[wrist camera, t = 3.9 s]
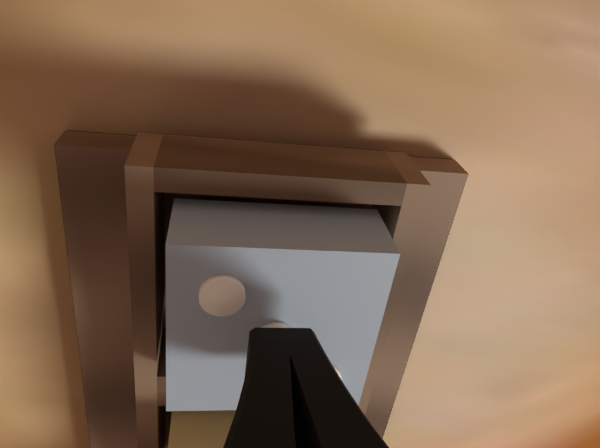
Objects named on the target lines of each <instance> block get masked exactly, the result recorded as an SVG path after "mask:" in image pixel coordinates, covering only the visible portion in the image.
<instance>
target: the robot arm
mask: <svg viewBox="0 0 600 448" xmlns="http://www.w3.org/2000/svg"><path fill="white" fill-rule="evenodd" d="M223 448H389V447H388V446H387V445H386V443H385V442H384V441H383V439H382V438H381V437H380V435H379V434H378V433H377V431H376V430H375V429H374V427H373V426H372V425H371V423H370V422H369V420H368V419H367V418H366V416H365V415H364V413H363V412H362V410H361V409H360V407H359V406H358V404H357V403H356V401H355V400H354V398H353V397H352V395H351V394H350V392H349V391H348V389H347V388H346V386H345V385H344V383H343V382H342V380H341V378H340V377H339V375H338V374H337V372H336V370H335V369H334V367H333V365H332V364H331V362H330V360H329V358H328V357H327V355H326V353H325V351H324V350H323V348H322V346H321V344H320V342H319V340H318V338H317V337H316V335H315V333H314V331H313V330H312V329H311V328H260V327H255V328H254V329H252V330H251V331H249V340H248V349H247V359H246V368H245V378H244V383H243V387H242V391H241V394H240V398H239V402H238V406H237V409H236V412H235V415H234V418H233V421H232V424H231V427H230V430H229V432H228V435H227V438H226V441H225V444H224V447H223Z"/></svg>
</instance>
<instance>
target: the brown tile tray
mask: <svg viewBox="0 0 600 448" xmlns="http://www.w3.org/2000/svg"><path fill="white" fill-rule="evenodd" d="M54 147H55V155H56V163H57V172H58V180H59V188H60V197H61V205H62V213H63V222H64V230H65V238H66V247H67V255H68V263H69V272H70V280H71V288H72V296H73V305H74V313H75V321H76V330H77V338H78V346H79V355H80V363H81V371H82V380H83V388H84V396H85V405H86V413H87V421H88V430H89V438H90V446H91V448H168V441H169V432H170V423H171V414H172V411H166V239H167V234H168V229H169V223H170V218H171V213H172V207H173V202H174V198H178V199H196V200H214V201H233V202H251V203H269V204H287V205H305V206H323V207H341V208H360V209H377V210H378V212H379V214H380V216H381V218H382V220H383V222H384V224H385V226H386V227H387V229H388V231H389V233H390V235H391V237H392V239H393V241H394V243H395V245H396V247H397V248H398V250H399V252H400V257H399V260H398V264H397V268H396V271H395V275H394V279H393V282H392V286H391V290H390V293H389V297H388V300H387V304H386V308H385V311H384V315H383V319H382V322H381V326H380V330H379V333H378V337H377V340H376V344H375V348H374V351H373V355H372V359H371V362H370V366H369V370H368V373H367V377H366V380H365V384H364V388H363V391H362V395H361V399H360V402H359V407H360V409H361V410H362V412H363V413H364V415H365V416H366V418H367V419H368V420H369V422H370V423H371V425H372V426H373V427H374V429H375V430H376V431H377V433H378V434H379V435H380V437H381V438H383V435H384V432H385V429H386V426H387V423H388V420H389V417H390V414H391V411H392V408H393V404H394V401H395V398H396V395H397V392H398V389H399V386H400V383H401V380H402V377H403V374H404V371H405V368H406V364H407V361H408V358H409V355H410V352H411V349H412V346H413V343H414V340H415V337H416V334H417V331H418V327H419V324H420V321H421V318H422V315H423V312H424V309H425V306H426V303H427V300H428V297H429V294H430V291H431V287H432V284H433V281H434V278H435V275H436V272H437V269H438V266H439V263H440V260H441V257H442V254H443V251H444V247H445V244H446V241H447V238H448V235H449V232H450V229H451V226H452V223H453V220H454V217H455V214H456V211H457V207H458V204H459V201H460V198H461V195H462V192H463V189H464V186H465V183H466V180H467V177H468V173H467V172H466V171H465V170H464V169H463V168H462V167H461V166H460V165H459V164H458V163H457V162H456V161H455V160H451V159H438V158H425V157H411V156H408V155H407V153H406V152H393V151H380V150H367V149H354V148H340V147H327V146H314V145H301V144H288V143H275V142H262V141H249V140H236V139H223V138H209V137H196V136H183V135H170V134H157V133H144V132H138V134H137V136H131V135H118V134H105V133H91V132H78V131H65V132H64V133H63V134H62V135H61V137H60V138H59V139H58V141H57V142H56V143H55V145H54Z"/></svg>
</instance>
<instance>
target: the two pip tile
mask: <svg viewBox="0 0 600 448" xmlns="http://www.w3.org/2000/svg"><path fill="white" fill-rule="evenodd" d="M235 412H236V410H214V411H172V414H171V423H170V432H169V441H168V448H223V447H224V444H225V441H226V438H227V435H228V432H229V430H230V427H231V424H232V421H233V418H234V415H235Z"/></svg>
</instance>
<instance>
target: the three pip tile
mask: <svg viewBox="0 0 600 448" xmlns="http://www.w3.org/2000/svg"><path fill="white" fill-rule="evenodd" d="M399 257H400V252H399V250H398V248H397V247H396V245H395V243H394V241H393V239H392V237H391V235H390V233H389V231H388V229H387V227H386V226H385V224H384V222H383V220H382V218H381V216H380V214H379V212H378V210H377V209H360V208H341V207H323V206H305V205H287V204H269V203H251V202H233V201H214V200H196V199H178V198H174V202H173V207H172V213H171V218H170V223H169V229H168V234H167V239H166V411H214V410H236V409H237V406H238V402H239V398H240V394H241V391H242V387H243V383H244V378H245V368H246V359H247V349H248V340H249V331H251V330H252V329H254V328H255V327H260V328H311V329H312V330H313V331H314V333H315V335H316V337H317V338H318V340H319V342H320V344H321V346H322V348H323V350H324V351H325V353H326V355H327V357H328V358H329V360H330V362H331V364H332V365H333V367H334V369H335V370H336V372H337V374H338V375H339V377H340V378H341V380H342V382H343V383H344V385H345V386H346V388H347V389H348V391H349V392H350V394H351V395H352V397H353V398H354V400H355V401H356V403H357V404H358V406H359V402H360V399H361V395H362V391H363V388H364V384H365V380H366V377H367V373H368V370H369V366H370V362H371V359H372V355H373V351H374V348H375V344H376V340H377V337H378V333H379V330H380V326H381V322H382V319H383V315H384V311H385V308H386V304H387V300H388V297H389V293H390V290H391V286H392V282H393V279H394V275H395V271H396V268H397V264H398V260H399Z"/></svg>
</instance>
